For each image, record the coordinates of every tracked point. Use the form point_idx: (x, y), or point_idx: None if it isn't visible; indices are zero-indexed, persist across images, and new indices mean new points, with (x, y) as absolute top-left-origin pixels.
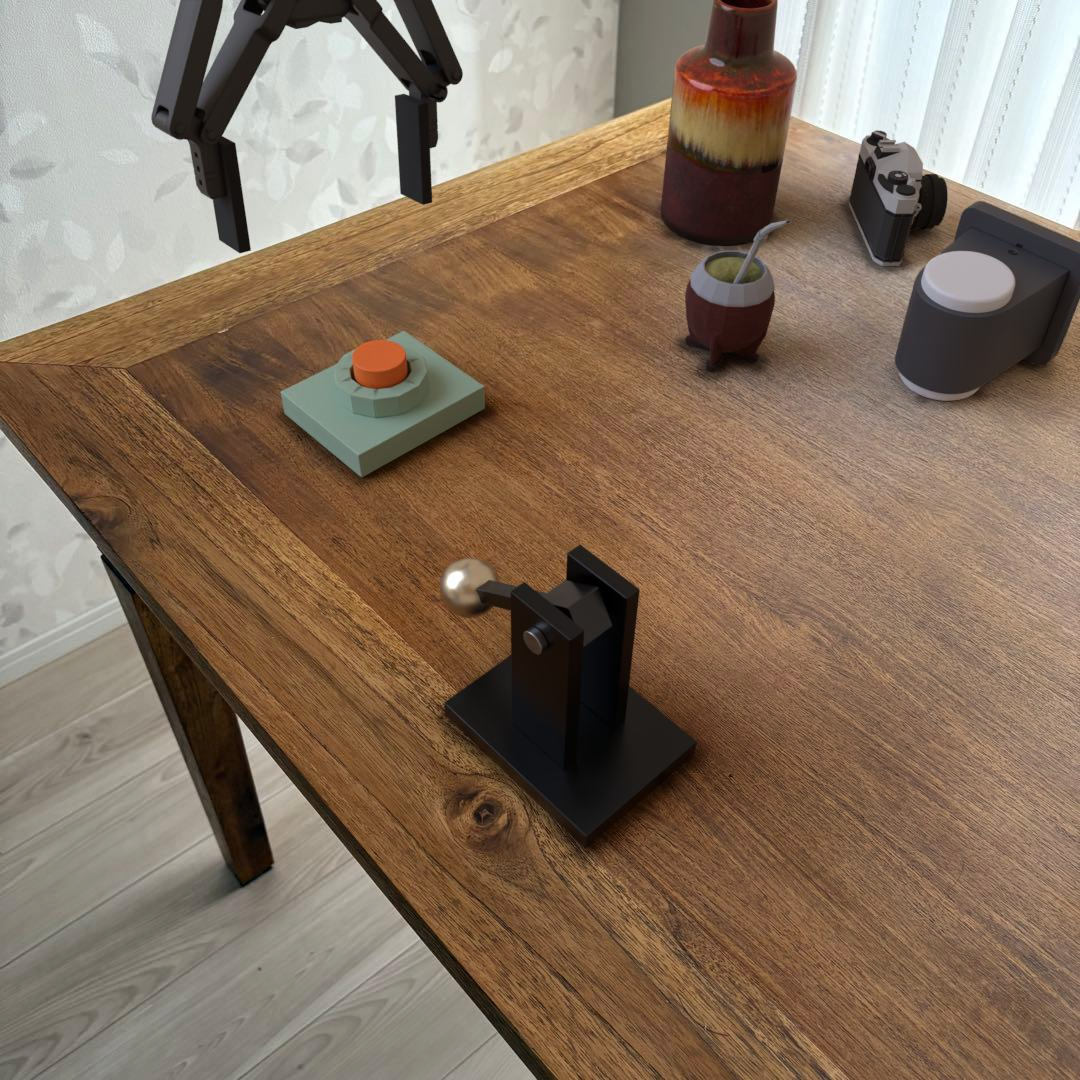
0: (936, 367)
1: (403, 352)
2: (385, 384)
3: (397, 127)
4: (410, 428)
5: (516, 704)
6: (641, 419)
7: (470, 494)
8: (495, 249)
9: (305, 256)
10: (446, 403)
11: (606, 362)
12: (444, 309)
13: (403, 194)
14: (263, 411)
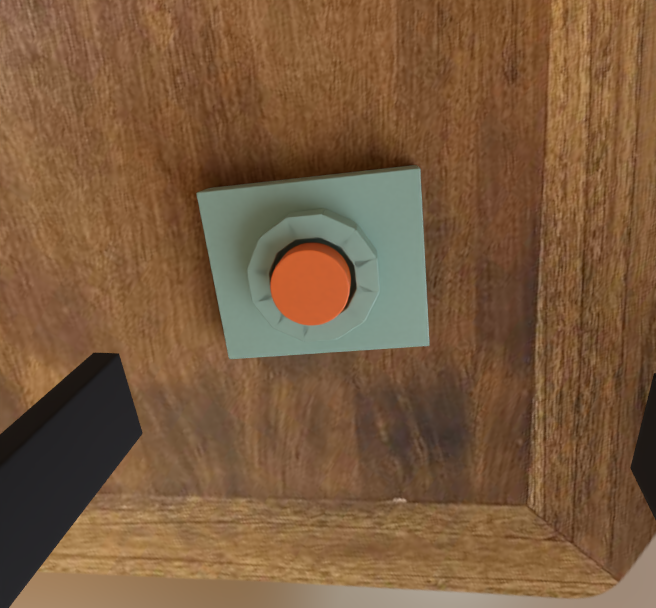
0: None
1: (276, 273)
2: (325, 246)
3: (31, 571)
4: (329, 177)
5: None
6: (33, 33)
7: (317, 44)
8: None
9: (248, 559)
10: (260, 191)
11: (19, 172)
12: (154, 387)
13: (138, 423)
14: (443, 350)
